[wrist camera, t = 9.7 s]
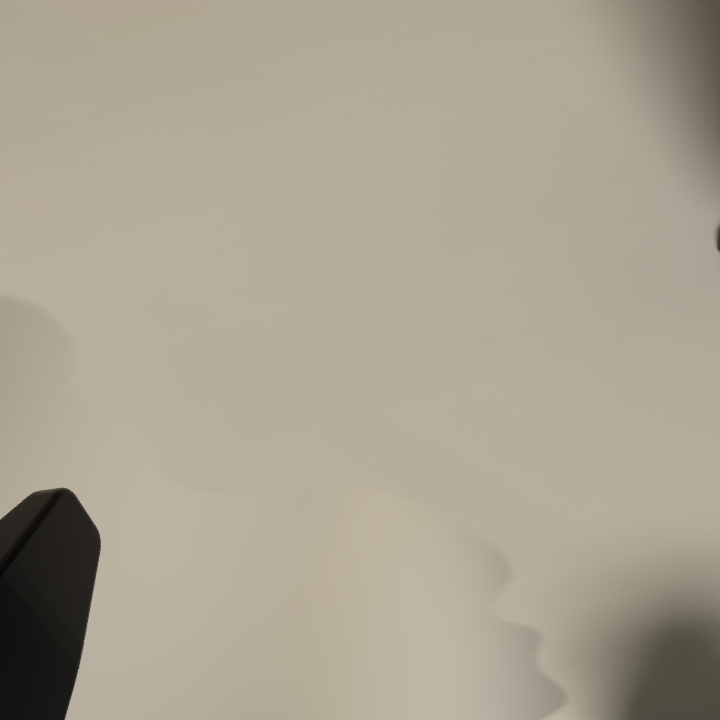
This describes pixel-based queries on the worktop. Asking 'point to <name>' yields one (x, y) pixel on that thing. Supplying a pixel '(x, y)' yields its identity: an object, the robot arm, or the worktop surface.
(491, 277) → the worktop surface
